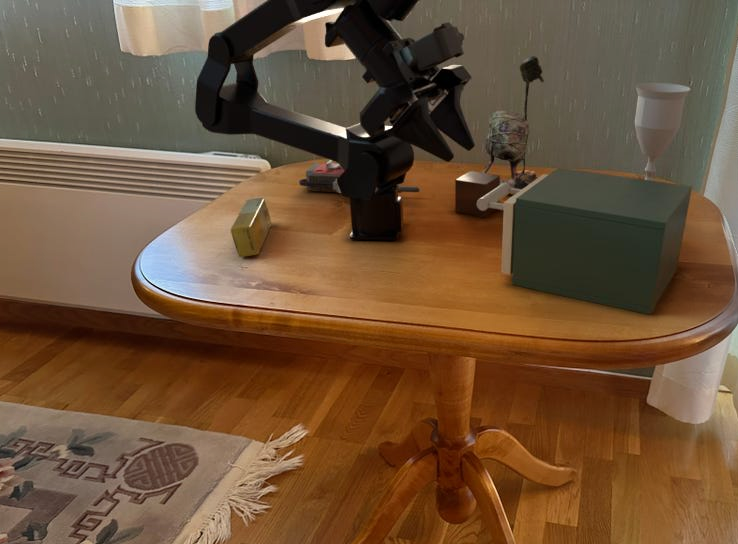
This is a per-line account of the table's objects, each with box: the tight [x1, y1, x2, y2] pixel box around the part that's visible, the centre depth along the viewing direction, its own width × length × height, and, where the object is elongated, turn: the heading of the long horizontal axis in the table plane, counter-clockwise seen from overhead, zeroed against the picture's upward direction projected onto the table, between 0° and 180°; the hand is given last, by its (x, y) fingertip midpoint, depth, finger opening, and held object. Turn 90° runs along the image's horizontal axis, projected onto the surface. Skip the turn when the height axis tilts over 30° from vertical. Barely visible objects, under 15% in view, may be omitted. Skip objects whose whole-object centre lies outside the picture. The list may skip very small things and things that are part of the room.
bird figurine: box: [482, 54, 544, 189], centre depth 107 cm, size 8×11×20 cm
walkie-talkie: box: [299, 159, 420, 194], centre depth 110 cm, size 9×4×20 cm
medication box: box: [230, 197, 272, 258], centre depth 91 cm, size 12×3×4 cm, turn 6°
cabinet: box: [511, 167, 693, 316], centre depth 80 cm, size 17×14×11 cm
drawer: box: [477, 173, 549, 276], centre depth 82 cm, size 20×12×9 cm, turn 63°
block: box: [454, 170, 501, 218], centre depth 102 cm, size 5×5×5 cm
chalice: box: [634, 82, 691, 181], centre depth 97 cm, size 7×7×18 cm
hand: (462, 153), depth 83 cm, fingers open, 5 cm apart
